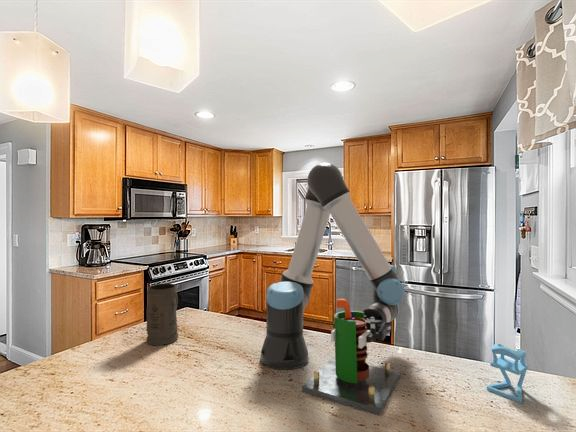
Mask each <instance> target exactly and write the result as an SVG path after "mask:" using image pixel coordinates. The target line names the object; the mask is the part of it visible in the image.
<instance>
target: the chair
mask: <svg viewBox="0 0 576 432" xmlns="http://www.w3.org/2000/svg"><path fill="white" fill-rule="evenodd" d="M491 351H492V356H493V360H492V361H491V362H490V363H489V364H490V367H492V368H495V369H499V370H500V372H501V374H502V376H503V377H504V381H503V382H498V383H492V384H489V385H486V390H487V391H488V392H490V393H493V394H496V395H498V396H501V397H504V398H507V399H509V400H512V401H514V402H517V403H523V392H522V391H523V383H524V380H525V377H526V373H527V370H528V369H529V365H528V364H526V363H525V362H526V361H525V360H526V359H525V358H526V355H527V351H524V350H523V349H517V350H515V349H511V348H510V347H507V346H504V345H503V344H501V343H494V344H493V345H492V346H491ZM497 355H500V356H499V357H498V356H497ZM505 356H506V357H508V358H506V357H505ZM509 358H510V359H509ZM511 359H513V360H511ZM506 371H507V372H509V373H511V374H514V375H517V376H519V378H518V381H517V384H516V394H517V396H515V395H513V394H510V393H508V392H506V391H502V390H500V389H502V388H503V389H504V388H507V387H510V386H512V382H511V379H510V378H509V376H508V374H507V372H506Z"/></svg>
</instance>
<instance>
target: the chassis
mask: <svg viewBox="0 0 576 432" xmlns="http://www.w3.org/2000/svg"><path fill="white" fill-rule="evenodd" d="M368 365H369V378H368V379H366V380H363V381H357V383H349V382H345V381H343V380H341V379H339V378H338V377H337V376H336V366H335V356H333V357H332V358H331V359H329V360H328V362H326V363H325V364H323V366H322V367H321V368H320V369H318V370H316V371H313V375H312V376H310V378H309V379H308V380H306V381H305V383H303V384H302V385H301V392H302V393H305V394H309V395H312V396H315V397H318V398H321V399H324V400H328V401H329V402H330V401H331V402H334V403H337V404H340V405H344V406H347V407H349V408H353V409H357V410H360V411H362V412H366V413H369V414H371V415H372V414H373V415H376V416H379V417H381V415H382V413H383V411H384V409H385V407H386V406H387V403H388V402H389V400H390V397H391V395H392V394H393V392H394V390H395V388H396V386H397V384H398V382H399V380H400V378H401V375H400V374H401V373H400V371H396V370H392V369H391V363H390V362H389V361H385V362H384V368H383V367H378V366H374V365H370V364H368Z"/></svg>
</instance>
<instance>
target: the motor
mask: <svg viewBox="0 0 576 432" xmlns="http://www.w3.org/2000/svg"><path fill="white" fill-rule="evenodd" d="M335 302H336V305H335V306H336V309H337V308H338V309H340V308H341V309H342V308H343V310H344V311H338V312H336V313H334V314H333V317H334V318H333V319H334V320H333V327H334V326H335V330H336V341H334V357H335V366H336V376H337V377H338V378H339V379H341V380H343V381H345V382H349V383H357V381H363V380H366V379H368V378H369V365H370V364H368V363H367V362H366V359H367V358H368V346H367V345H368V343H367V344H366V345H365V346H364V347H363V348H362V349H361V348H359V336H361V335H362V334H363V333H364V332H366V331H367V327H366V325H367V321H366V320H365V319H364V312H362V311H359V310H351V305H350V303H349V301H348V300H347V299H346V298H336V300H335Z"/></svg>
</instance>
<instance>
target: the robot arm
mask: <svg viewBox="0 0 576 432" xmlns="http://www.w3.org/2000/svg"><path fill="white" fill-rule="evenodd" d="M306 182H307V187H308V188H307V191H306V194H305V198H304V201H305V204H306V210H305V213H304V214H303V215H304V216H303V219H302V223H301V224H300V225H301V226H300V229H299V232H298V235H297V239H296V242H295V246H294V248H293V252H292V256H291V258H290V262H289V265H288V268H287V269H286V270H285V271H283V272H282V274H281V277H280V280H279V281H278V282H274V283H271V285H269V286H268V288H267V289H266V296H265V299H266V333H265V338H264V341H263V344H262V346H261V350H260V362H261V364H263V366H266V367H268V368H271V369H274V370H275V369H277V370H293V369H298V368H301V367H303V366H304V365H306V364H308V362H309V350H308V348H307V347H308V346H307V344H306V340H305V336H304V311H305V309H306V307H307V305H308V304H309V302H310V298H311V292H312V288H313V285H314V283H315V282H314V280H313V278H312V274H313V272H314V267H315V264H316V261H317V258H318V255H319V251H320V248H321V245H322V241H323V238H324V234H325V231H326V229H327V225H328V222H329V218H330V215H331V217H332V219H333V220H334V222H335V223H336V225H337V227H338V229H339V231H340V232H341V234H342V235H343V237H344V239H345V240H346V242H347V243H348V246H349V247H350V249H351V250H352V252H353V254H354V256H355V258H356V259H357V260H358V261H357V262H358V263H359V264H360V266H361V268H362V269H363V271H364V272H365V274H366V276H367V279H369V281H370V283H371V285H372V287H373V289H372V291H373V295H372V296H373V297H372V298H373V299H372V302H373V303H372V304H371V305H369V306H368V307H367V308H365V309H363V310H362V311H361V312H364V319H365V320H366V321H367V325H366V327H367V331H366V332H364V333H363V334H362V335H361V336H359V348H361V349H362V348H363V347H364V346H365V345H366V344H367V345H368V343H369V344H370V343H372V342H373V341H374V342H375V341H376V340H378V342H384V340H385V338H386V336H387V335H388V334H389V333H391V332H392V323H391V322H392V321H393V320H395V319H396V317H398V314H399V313H400V306H399V303H400V302H402V301H403V299H404V297H405V288H404V286H403V283H402V282H401V281H400V280H399V278H398V277H397V275H398V274H397V273H398V272H397V267H396V266H395V265H392V264H390V263H389V261H388V259H387V258H386V257H385V255H384V253H383V252H382V250H381V248H380V246H379V245H378V243H377V241H376V240H375V238H374V237H373V235H372V233H371V231H370V230H369V228H368V226H367V225H366V223H365V222H364V220H363V218H362V216H361V214H360V213H359V211H358V210H357V207H355V205H354V203H353V201H352V200H351V197H350V195H351V191H350V190H349V187H348V186H347V184H346V182H345V180H344V177H343V174H342V172H341V170H340V169H339V167H337V166H336V165H334V164H332V163H329V162H322V163H318V164H317V165H315V166H313V167H312V168H311V169H310V171H309V172H308V174H307V181H306ZM335 341H336V330H335V326H334V325H333V329H332V330H331V331H330V342H332V343H335ZM367 345H366V346H367Z"/></svg>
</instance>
